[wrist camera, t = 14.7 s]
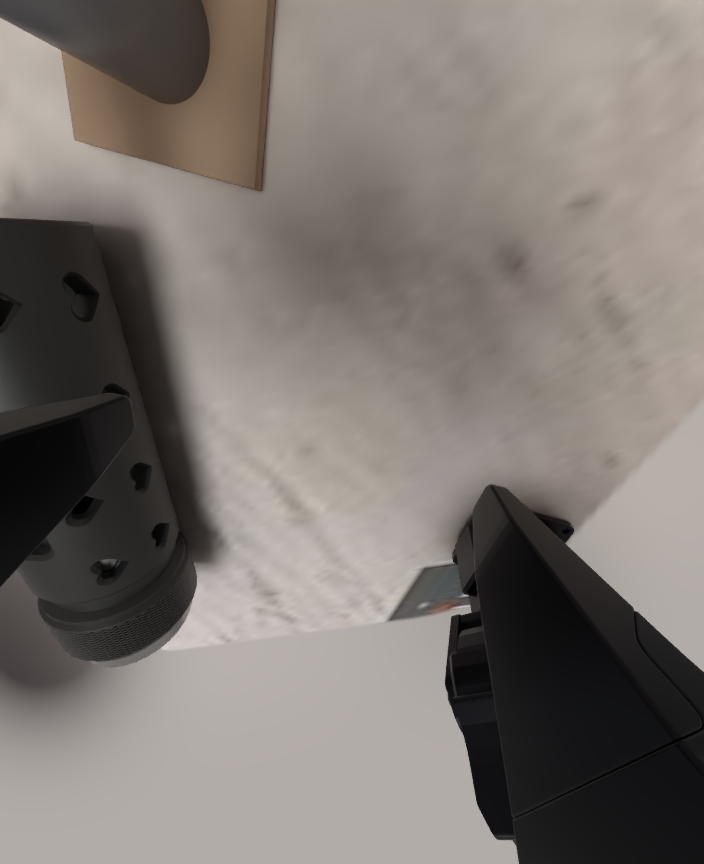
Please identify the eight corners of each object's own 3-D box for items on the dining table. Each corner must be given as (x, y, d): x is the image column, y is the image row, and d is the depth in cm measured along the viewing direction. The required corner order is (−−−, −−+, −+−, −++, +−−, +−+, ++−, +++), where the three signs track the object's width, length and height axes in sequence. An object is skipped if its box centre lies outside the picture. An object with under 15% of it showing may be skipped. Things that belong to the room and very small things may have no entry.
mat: (283, -103, 12) (276, -123, 12) (260, 191, 17) (254, 189, 16) (46, -166, 13) (26, -189, 12) (88, 144, 17) (74, 140, 16)
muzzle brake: (153, 225, 19) (-78, 215, 10) (225, 567, 33) (157, 690, 24) (-1, 217, 20) (-338, 201, 11) (133, 552, 34) (35, 665, 25)
